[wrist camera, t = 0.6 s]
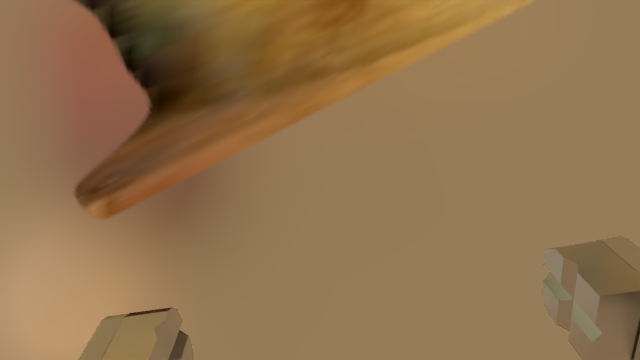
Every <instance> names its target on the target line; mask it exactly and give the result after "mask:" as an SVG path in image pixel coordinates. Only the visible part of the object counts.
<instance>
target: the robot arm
mask: <svg viewBox="0 0 640 360" xmlns="http://www.w3.org/2000/svg"><path fill="white" fill-rule="evenodd" d="M544 265H545V266H546V267H547V268H548V270H549V271H550V273H549V274H548V275H547V276H546V277H545V279H544V280H543V283H542V295H543V299H544V303H545V307H546V309H547V310H548V312H549V315H550V316H551V318H552V319H553V320H554V322H555V323H556V325H559V326H561V327H562V328H564V329H566V330H568V331H570V333H569V342H570V344H571V345H572V346H573V348H574V349H575V350H576V352H577V353H578V354H579V356H580V357H581V358H582V360H640V248H639V247H638V246H637V245H635V244H634V243H633V242H632V241H630V240H629V239H627V238H624V237H622V236H618V237H612V238H607V239H601V240H596V241H594V242H587V243H581V244H575V245H568V246H562V247H556V248H550V249H548V250H547V252H546V254H545V262H544ZM181 323H182V319H181V317H180V314H179V312H178V310H177V309H175V308H173V307H172V308H164V309H156V310H150V311H141V312H134V313H129V314H121V315H114V316H108V317H106V318H104V319H103V320H102V321H101V322H100V324H99V325H98V327H97V329H96V331H95V332H94V334H93V336H92V337H91V339H90V341H89V342H88V344H87V346H86V347H85V349H84V351H83V353H82V354H81V356H80V358H79V359H78V360H193V349H192V344H191V341H190V339H189V336H188V335H187V334H185V333H184V332H182V331H181V330H179V329H180V326H181Z"/></svg>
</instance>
